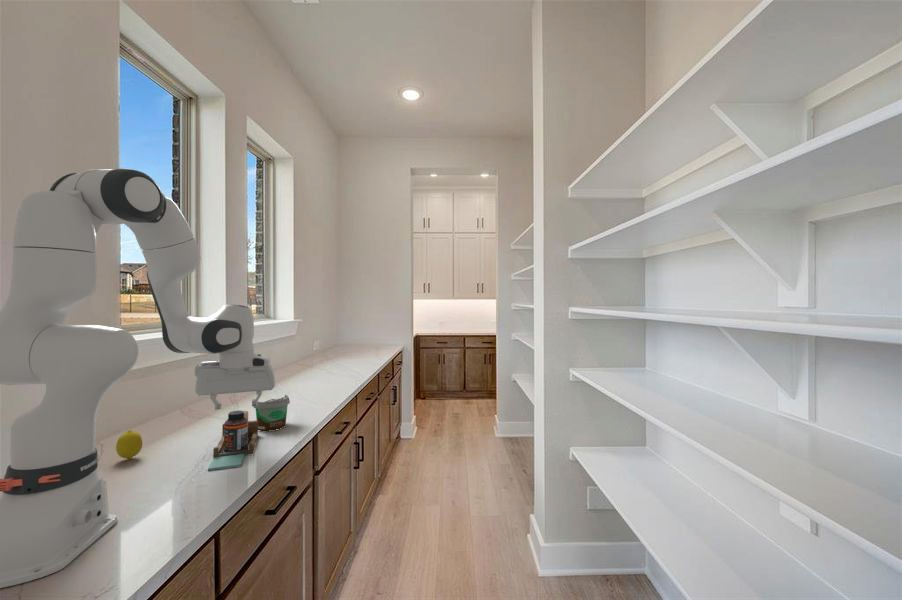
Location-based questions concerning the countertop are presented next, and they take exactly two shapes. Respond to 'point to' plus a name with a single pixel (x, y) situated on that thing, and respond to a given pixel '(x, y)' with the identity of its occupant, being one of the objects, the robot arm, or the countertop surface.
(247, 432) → the peach capsule
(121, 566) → the countertop surface
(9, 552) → the robot arm
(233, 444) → the supplement bottle
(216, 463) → the coaster
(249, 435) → the rack
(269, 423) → the food container
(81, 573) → the countertop surface
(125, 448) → the lemon
